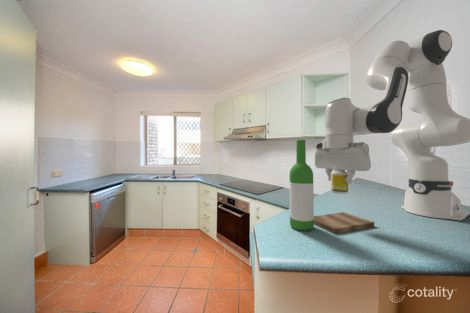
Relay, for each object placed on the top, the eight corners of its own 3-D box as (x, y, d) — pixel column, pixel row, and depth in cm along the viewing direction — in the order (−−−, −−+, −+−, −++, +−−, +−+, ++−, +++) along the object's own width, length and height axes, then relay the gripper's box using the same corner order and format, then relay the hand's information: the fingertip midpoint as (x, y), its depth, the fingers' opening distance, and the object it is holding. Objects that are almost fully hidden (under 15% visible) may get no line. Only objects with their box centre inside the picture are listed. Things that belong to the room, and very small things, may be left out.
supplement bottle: (350, 194, 62) (350, 165, 62) (333, 193, 63) (333, 165, 63) (344, 191, 67) (344, 165, 67) (328, 190, 68) (328, 165, 68)
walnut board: (343, 215, 74) (343, 212, 74) (374, 226, 62) (374, 222, 62) (307, 221, 68) (307, 217, 68) (334, 233, 57) (334, 229, 57)
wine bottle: (307, 222, 66) (306, 141, 66) (318, 231, 58) (317, 139, 59) (286, 223, 66) (285, 141, 66) (294, 232, 58) (294, 138, 58)
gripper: (375, 141, 56) (376, 185, 56) (323, 145, 76) (324, 178, 76) (361, 141, 54) (361, 187, 54) (311, 145, 74) (312, 179, 74)
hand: (339, 182), depth 65 cm, fingers closed on supplement bottle, 5 cm apart
